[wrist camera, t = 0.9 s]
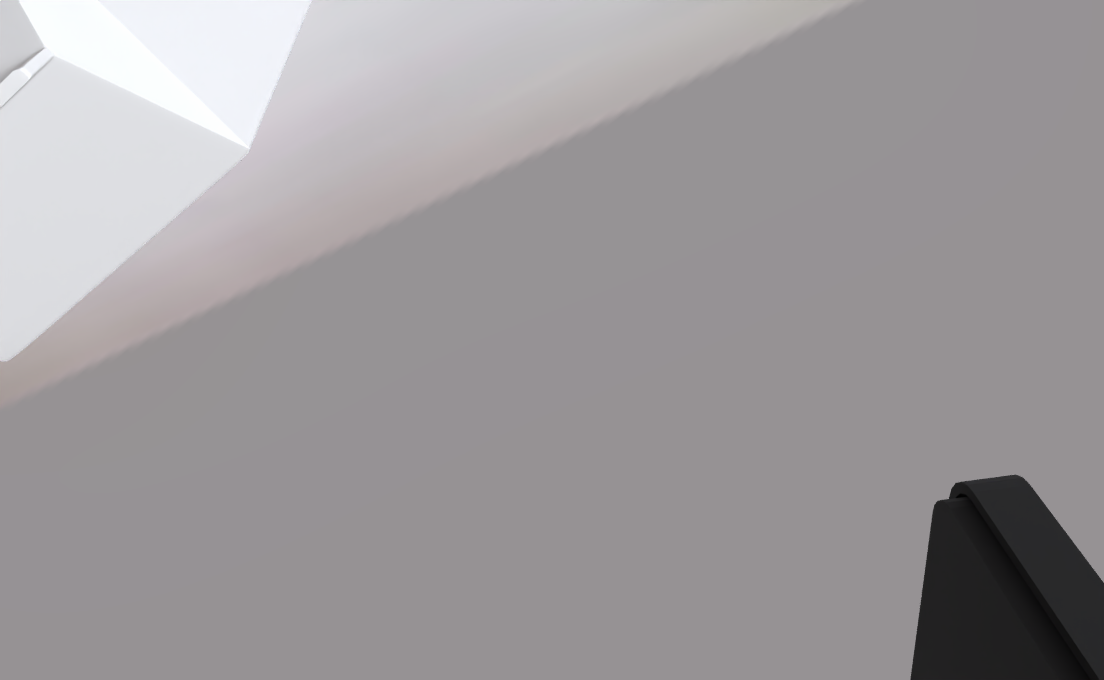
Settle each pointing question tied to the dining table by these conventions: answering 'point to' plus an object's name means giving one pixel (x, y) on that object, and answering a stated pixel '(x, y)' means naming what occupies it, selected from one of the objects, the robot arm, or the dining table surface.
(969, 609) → the robot arm
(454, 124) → the dining table surface
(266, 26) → the milk carton
